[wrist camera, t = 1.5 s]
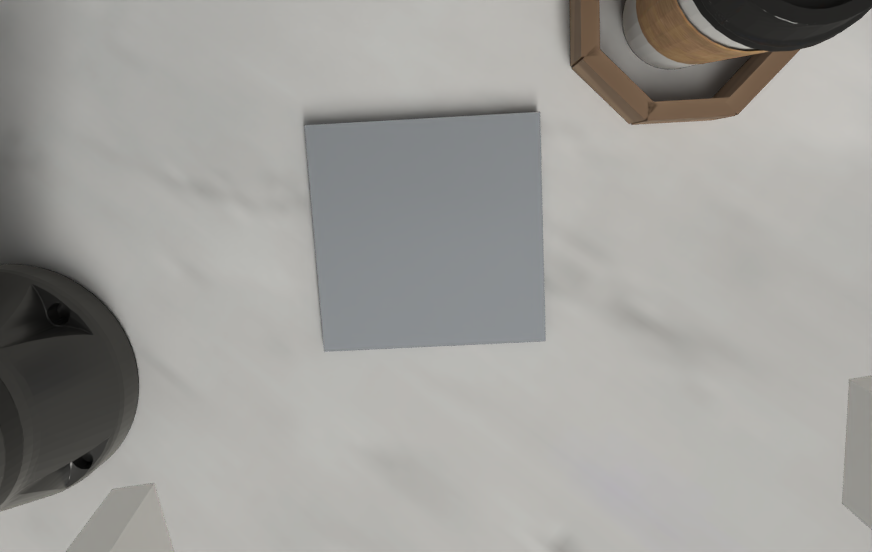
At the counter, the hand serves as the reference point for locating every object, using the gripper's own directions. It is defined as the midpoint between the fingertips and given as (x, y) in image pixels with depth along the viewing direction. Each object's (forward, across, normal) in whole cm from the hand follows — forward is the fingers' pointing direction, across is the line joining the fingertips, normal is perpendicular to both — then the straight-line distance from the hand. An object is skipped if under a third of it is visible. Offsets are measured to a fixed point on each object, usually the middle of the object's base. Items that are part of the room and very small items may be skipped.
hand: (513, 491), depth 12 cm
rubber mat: (+28, 0, 0) cm, 28 cm away
